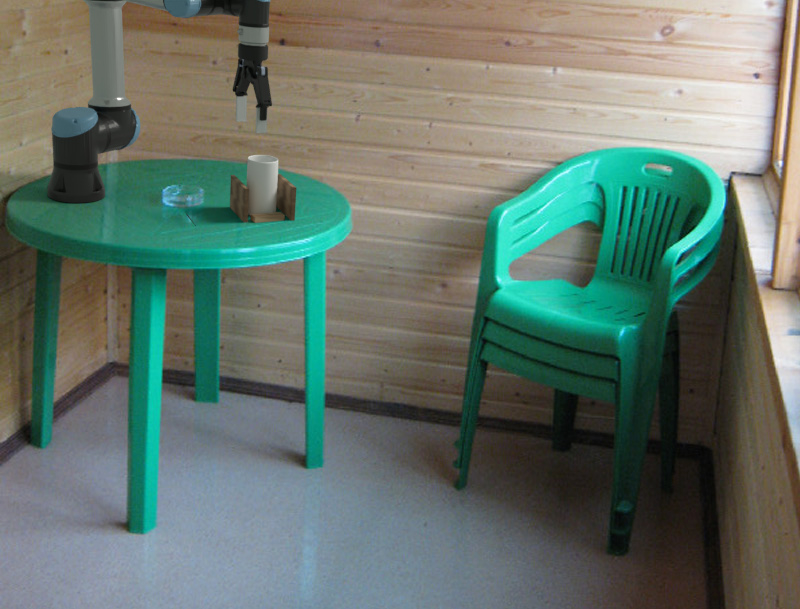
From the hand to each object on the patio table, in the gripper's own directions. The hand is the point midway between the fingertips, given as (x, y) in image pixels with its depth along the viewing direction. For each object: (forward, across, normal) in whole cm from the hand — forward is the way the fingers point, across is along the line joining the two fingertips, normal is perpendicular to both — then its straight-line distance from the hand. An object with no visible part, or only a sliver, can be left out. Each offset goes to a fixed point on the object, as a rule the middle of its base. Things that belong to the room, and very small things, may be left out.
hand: (250, 127), depth 273 cm
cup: (+26, -4, +5) cm, 27 cm away
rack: (+26, -3, +5) cm, 26 cm away
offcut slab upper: (+25, +3, +4) cm, 25 cm away
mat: (+25, -4, -9) cm, 27 cm away
